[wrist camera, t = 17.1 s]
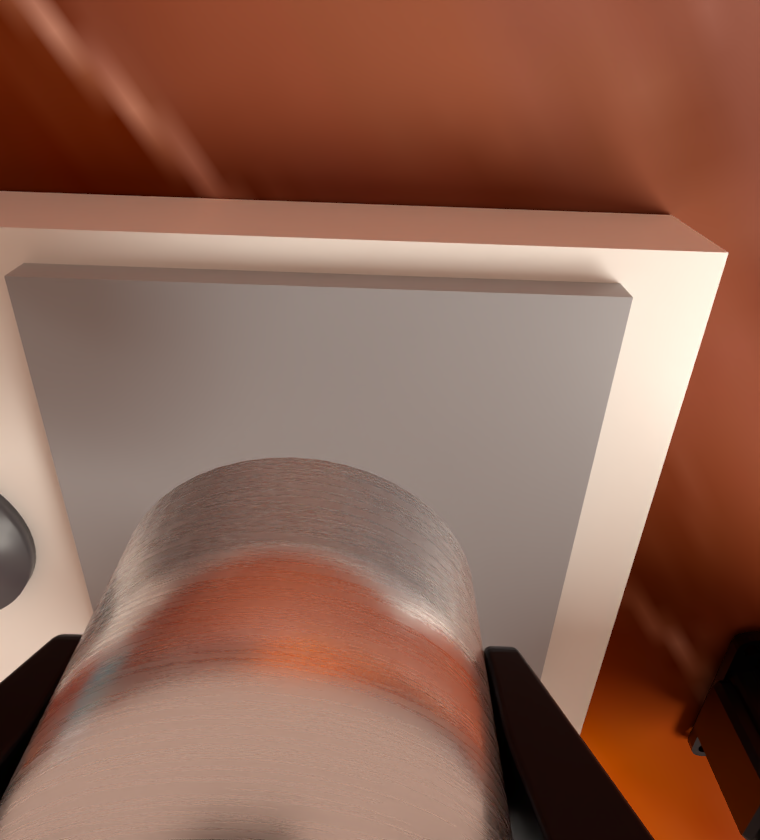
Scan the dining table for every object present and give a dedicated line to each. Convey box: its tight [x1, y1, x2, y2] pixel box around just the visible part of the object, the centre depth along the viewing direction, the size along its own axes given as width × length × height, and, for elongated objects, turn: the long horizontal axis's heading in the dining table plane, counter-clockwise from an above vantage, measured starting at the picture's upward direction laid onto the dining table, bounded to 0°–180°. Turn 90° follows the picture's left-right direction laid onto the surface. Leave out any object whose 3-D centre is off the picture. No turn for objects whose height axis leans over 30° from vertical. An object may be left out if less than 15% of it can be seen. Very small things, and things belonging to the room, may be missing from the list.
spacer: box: [0, 457, 513, 840], centre depth 7 cm, size 5×5×5 cm
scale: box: [0, 191, 728, 735], centre depth 18 cm, size 22×16×4 cm
